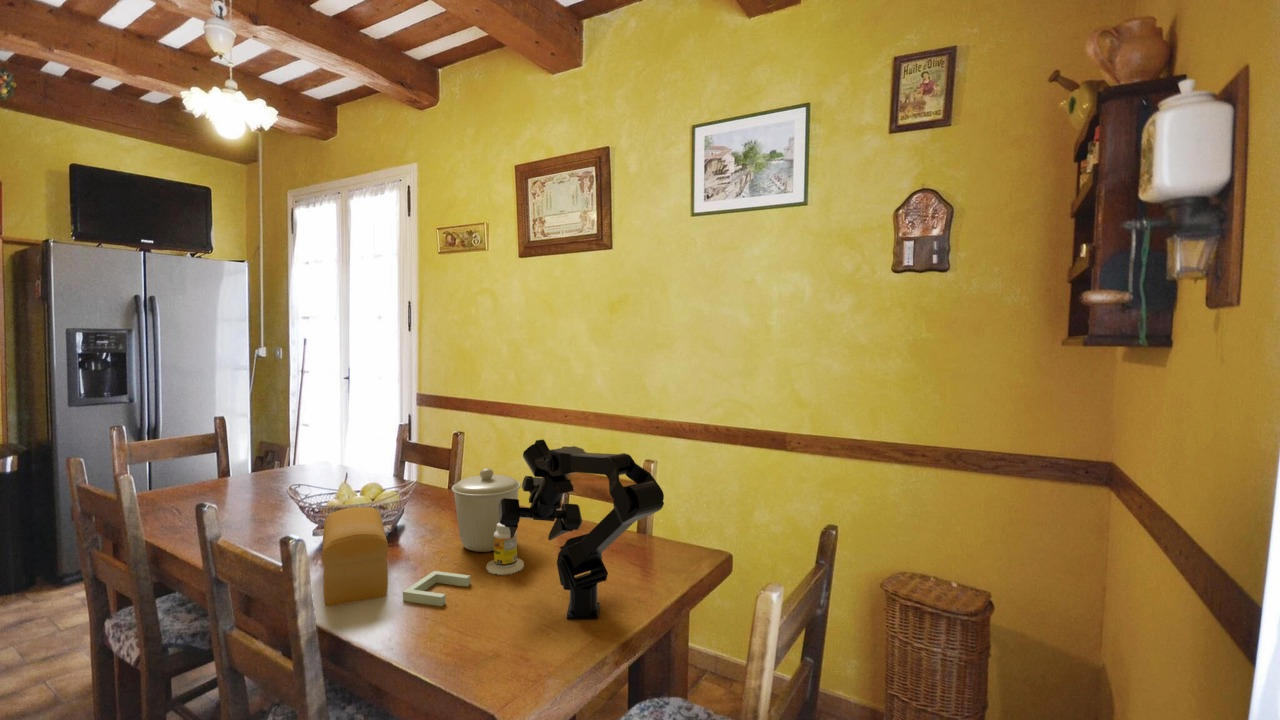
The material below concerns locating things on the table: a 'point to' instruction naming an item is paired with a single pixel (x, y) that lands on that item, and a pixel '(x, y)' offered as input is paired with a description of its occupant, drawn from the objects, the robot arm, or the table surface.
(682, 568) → the table surface
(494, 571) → the coaster
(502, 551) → the supplement bottle
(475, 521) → the canister
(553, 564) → the table surface
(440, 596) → the pale green u-shaped bracket
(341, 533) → the bread
